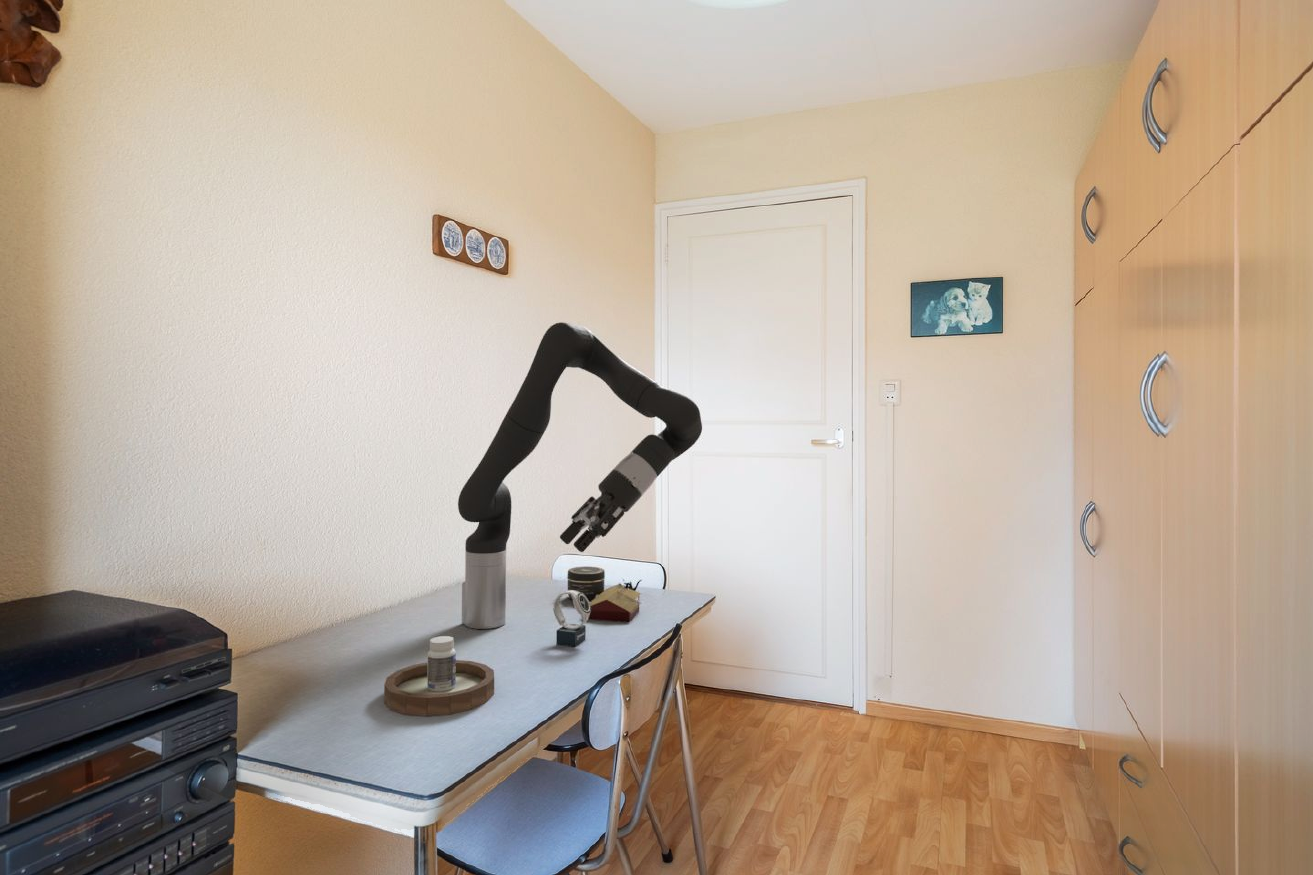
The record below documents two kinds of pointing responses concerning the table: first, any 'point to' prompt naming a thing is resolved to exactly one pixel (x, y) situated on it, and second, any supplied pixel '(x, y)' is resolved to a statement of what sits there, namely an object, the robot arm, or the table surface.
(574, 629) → the watch
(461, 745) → the table surface
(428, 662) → the pill bottle
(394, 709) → the ring tray
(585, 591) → the jar
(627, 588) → the creature
